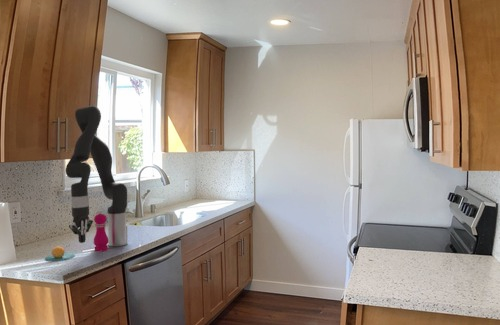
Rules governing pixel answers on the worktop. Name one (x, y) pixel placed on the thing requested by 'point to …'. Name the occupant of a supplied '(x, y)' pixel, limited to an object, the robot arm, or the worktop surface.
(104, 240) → the pepper mill
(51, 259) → the disc
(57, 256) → the ball
